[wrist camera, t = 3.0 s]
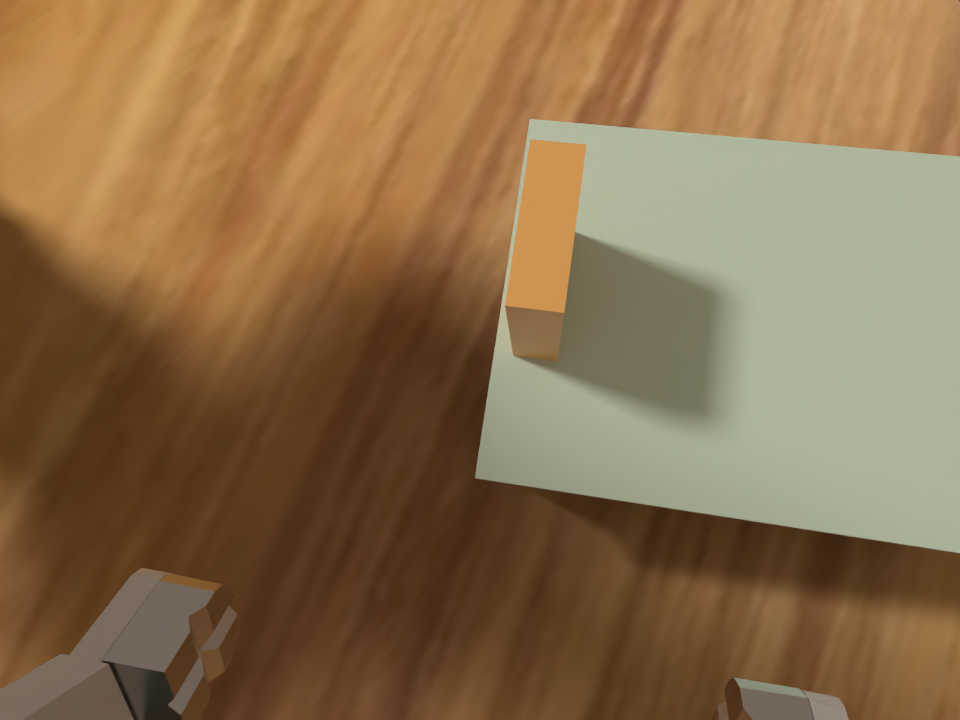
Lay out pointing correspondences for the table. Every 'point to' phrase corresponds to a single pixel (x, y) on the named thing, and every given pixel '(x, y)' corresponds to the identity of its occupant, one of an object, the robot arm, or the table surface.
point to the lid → (733, 331)
